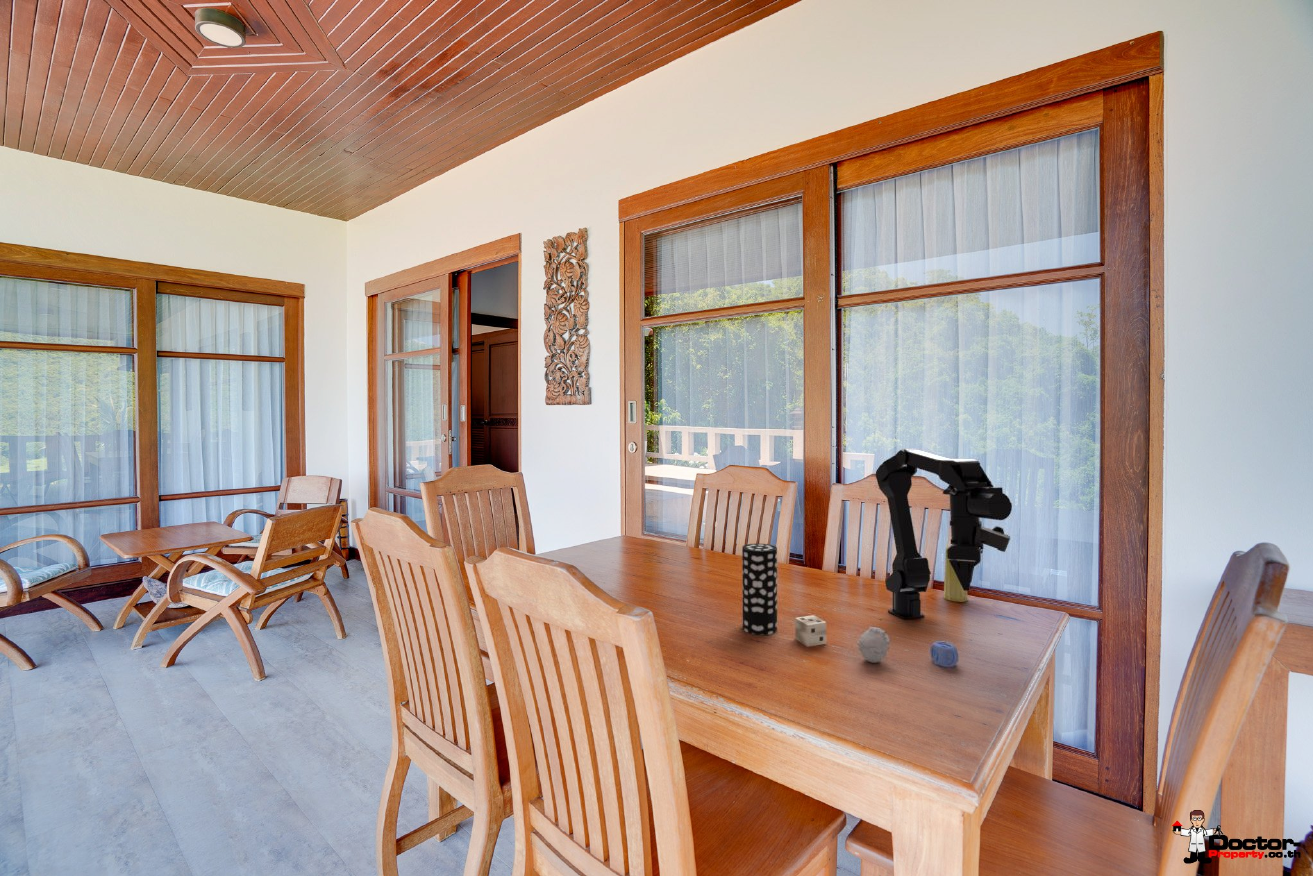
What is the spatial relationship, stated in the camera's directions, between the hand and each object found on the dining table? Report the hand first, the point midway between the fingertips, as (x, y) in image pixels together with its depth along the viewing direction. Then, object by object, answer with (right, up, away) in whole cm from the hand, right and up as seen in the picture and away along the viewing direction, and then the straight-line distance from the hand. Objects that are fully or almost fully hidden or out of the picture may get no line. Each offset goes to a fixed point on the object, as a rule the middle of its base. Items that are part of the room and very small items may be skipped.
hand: (967, 586), depth 130 cm
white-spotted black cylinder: (-44, -14, +13) cm, 48 cm away
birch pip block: (-34, -14, +5) cm, 37 cm away
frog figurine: (-23, -14, -7) cm, 28 cm away
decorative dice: (-9, -14, -8) cm, 19 cm away
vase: (+14, -12, +33) cm, 38 cm away
